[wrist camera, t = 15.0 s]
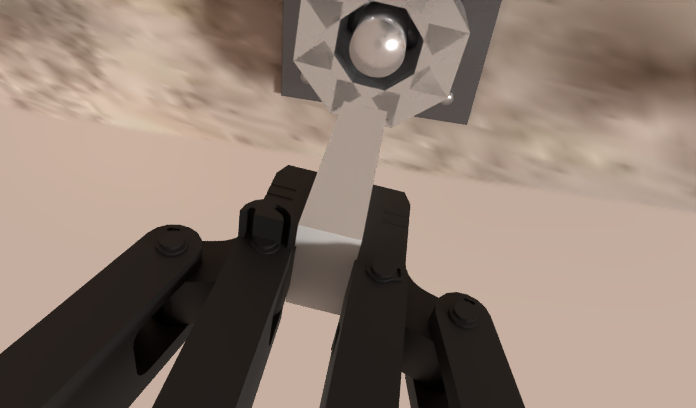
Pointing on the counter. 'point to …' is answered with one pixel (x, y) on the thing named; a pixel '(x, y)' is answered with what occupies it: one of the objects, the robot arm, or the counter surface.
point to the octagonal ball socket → (397, 88)
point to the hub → (397, 51)
